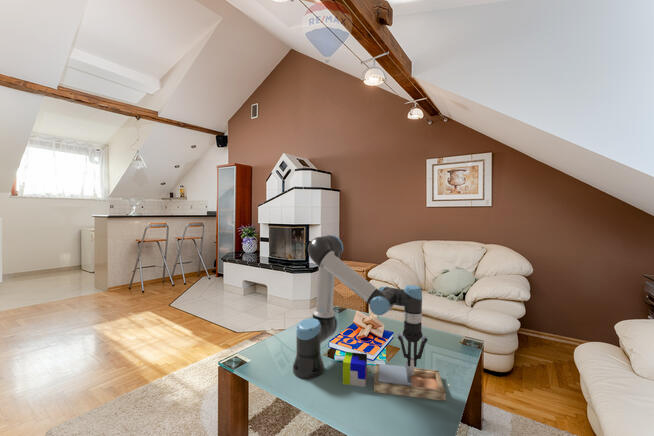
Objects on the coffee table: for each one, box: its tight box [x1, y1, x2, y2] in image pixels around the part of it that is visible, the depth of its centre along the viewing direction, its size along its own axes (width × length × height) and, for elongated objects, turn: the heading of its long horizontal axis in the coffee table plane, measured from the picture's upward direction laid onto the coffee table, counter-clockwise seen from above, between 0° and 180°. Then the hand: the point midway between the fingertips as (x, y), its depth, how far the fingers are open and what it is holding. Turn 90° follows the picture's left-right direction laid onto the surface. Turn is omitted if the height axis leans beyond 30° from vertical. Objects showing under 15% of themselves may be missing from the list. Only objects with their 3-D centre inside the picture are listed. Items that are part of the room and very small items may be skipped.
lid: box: [378, 361, 412, 386], centre depth 136 cm, size 14×14×4 cm
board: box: [373, 363, 447, 402], centre depth 135 cm, size 29×18×3 cm, turn 79°
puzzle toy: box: [342, 351, 368, 387], centre depth 138 cm, size 10×10×10 cm
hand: (411, 372), depth 135 cm, fingers closed
